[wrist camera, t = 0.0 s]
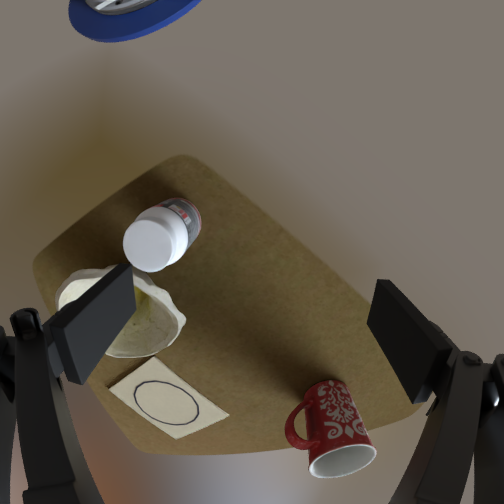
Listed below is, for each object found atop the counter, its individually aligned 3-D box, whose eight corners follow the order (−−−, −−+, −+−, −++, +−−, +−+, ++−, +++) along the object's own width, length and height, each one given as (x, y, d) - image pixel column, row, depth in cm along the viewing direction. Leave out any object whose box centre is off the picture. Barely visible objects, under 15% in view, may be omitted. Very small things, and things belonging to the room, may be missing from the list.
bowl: (133, 352, 39) (107, 397, 29) (75, 276, 35) (33, 307, 26) (213, 312, 36) (200, 361, 26) (149, 218, 33) (109, 241, 23)
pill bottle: (173, 186, 31) (140, 198, 22) (212, 218, 32) (193, 241, 23) (146, 225, 33) (107, 249, 23) (182, 255, 34) (156, 290, 24)
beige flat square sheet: (154, 355, 39) (153, 356, 38) (229, 414, 42) (229, 416, 42) (109, 388, 42) (108, 389, 41) (176, 438, 45) (176, 439, 45)
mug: (365, 384, 40) (390, 449, 27) (330, 418, 42) (344, 481, 29) (302, 358, 38) (315, 433, 25) (267, 397, 41) (269, 468, 28)
